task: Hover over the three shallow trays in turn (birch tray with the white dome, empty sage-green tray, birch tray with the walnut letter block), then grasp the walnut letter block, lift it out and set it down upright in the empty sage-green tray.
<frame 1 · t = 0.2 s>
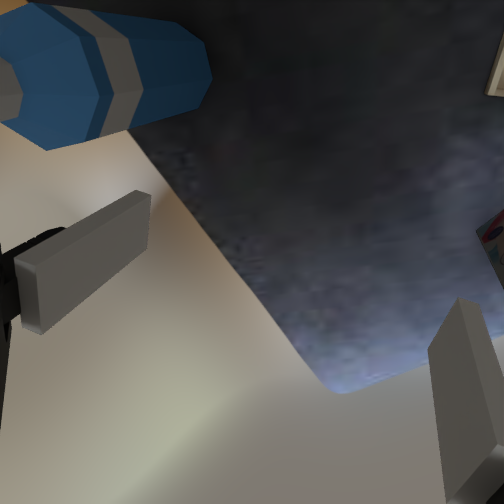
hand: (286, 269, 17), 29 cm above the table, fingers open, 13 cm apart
water bottle: (174, 70, 44), on the table
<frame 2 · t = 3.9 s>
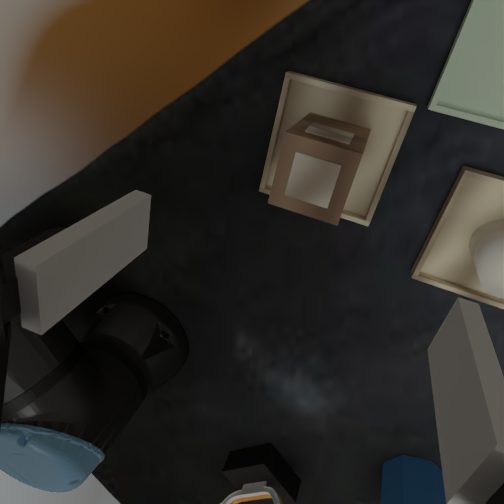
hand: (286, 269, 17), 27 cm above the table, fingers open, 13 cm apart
white dome: (498, 243, 38), point 1 cm above the table, touching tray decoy
letter block: (330, 151, 40), point 1 cm above the table, touching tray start
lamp: (265, 464, 67), on the table
water bottle: (414, 476, 57), on the table
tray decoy: (496, 241, 39), on the table
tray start: (331, 149, 40), on the table
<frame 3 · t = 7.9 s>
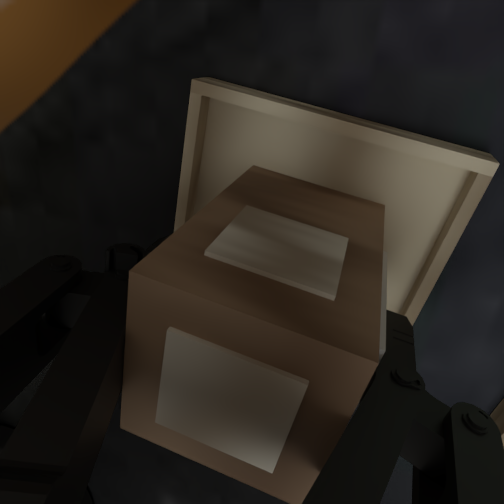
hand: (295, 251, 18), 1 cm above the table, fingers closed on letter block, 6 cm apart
letter block: (299, 242, 19), point 1 cm above the table, touching gripper, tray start
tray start: (302, 237, 19), on the table
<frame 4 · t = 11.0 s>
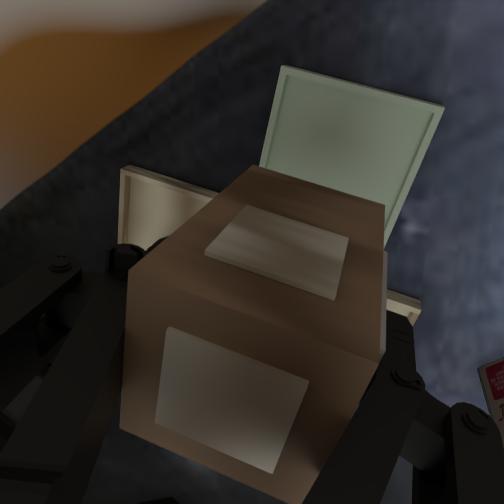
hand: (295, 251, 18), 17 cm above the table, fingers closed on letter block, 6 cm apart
letter block: (299, 242, 19), point 16 cm above the table, touching gripper
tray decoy: (336, 326, 40), on the table
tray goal: (337, 160, 33), on the table
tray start: (178, 236, 41), on the table
when the fingers open (3 cm above the table, at t = 14.2 s): letter block drops 1 cm, resting on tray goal.
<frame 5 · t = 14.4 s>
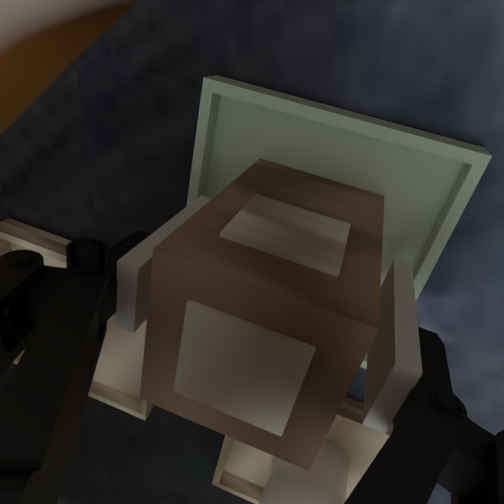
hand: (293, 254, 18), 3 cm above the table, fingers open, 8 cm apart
white dome: (311, 458, 27), point 1 cm above the table, touching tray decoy
letter block: (303, 232, 20), point 1 cm above the table, touching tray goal
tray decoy: (312, 451, 28), on the table
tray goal: (306, 228, 20), on the table
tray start: (88, 317, 29), on the table
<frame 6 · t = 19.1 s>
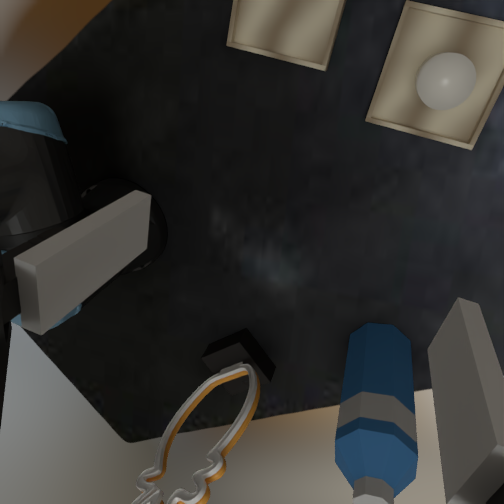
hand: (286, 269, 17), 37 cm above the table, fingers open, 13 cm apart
white dome: (439, 78, 43), point 1 cm above the table, touching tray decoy
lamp: (242, 354, 70), on the table
water bottle: (379, 346, 61), on the table
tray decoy: (439, 77, 43), on the table
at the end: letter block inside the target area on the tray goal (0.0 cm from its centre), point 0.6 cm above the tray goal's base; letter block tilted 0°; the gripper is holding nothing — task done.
